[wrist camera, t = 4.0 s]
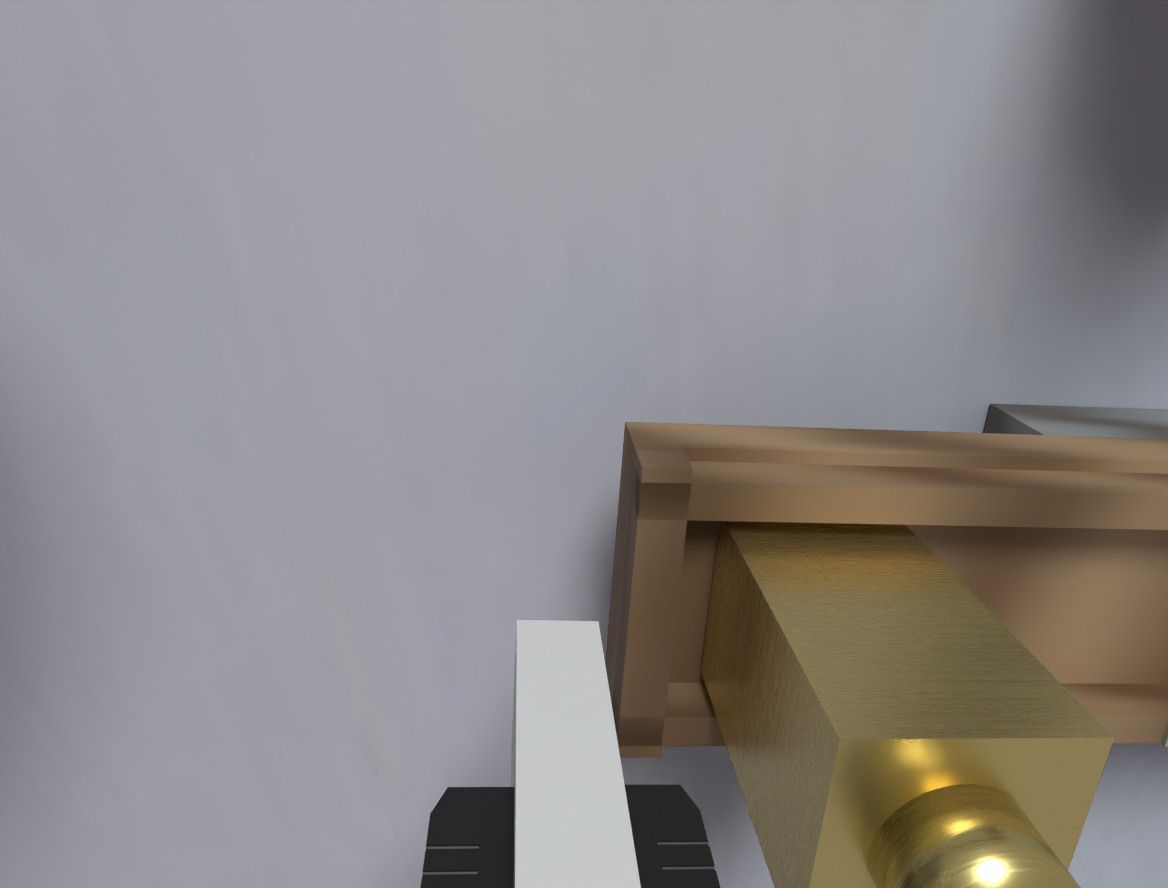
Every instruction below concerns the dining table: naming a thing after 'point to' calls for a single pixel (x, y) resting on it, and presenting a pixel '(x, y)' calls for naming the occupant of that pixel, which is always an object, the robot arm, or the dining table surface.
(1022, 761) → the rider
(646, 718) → the beam
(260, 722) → the dining table surface
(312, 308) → the dining table surface
